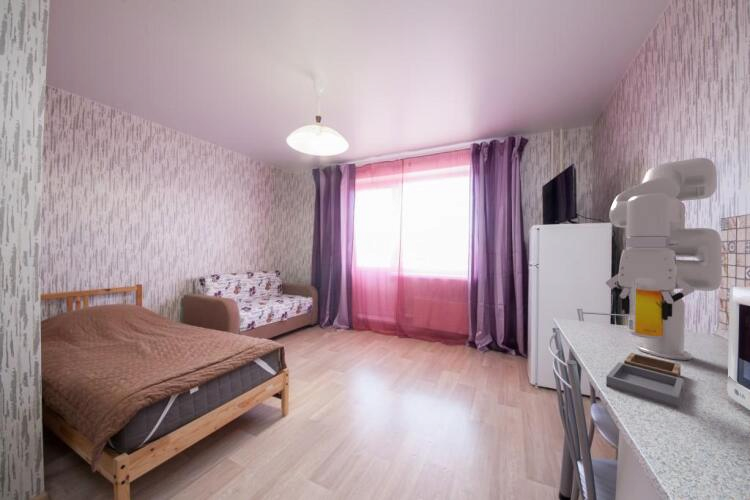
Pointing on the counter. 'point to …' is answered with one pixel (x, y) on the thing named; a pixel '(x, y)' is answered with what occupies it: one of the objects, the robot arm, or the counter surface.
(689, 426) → the counter surface
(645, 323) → the beer can
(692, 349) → the counter surface
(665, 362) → the collar
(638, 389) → the tray
